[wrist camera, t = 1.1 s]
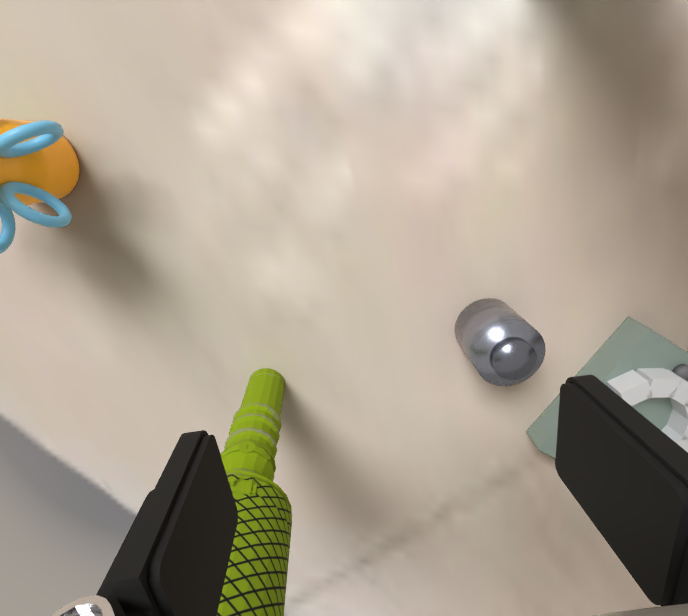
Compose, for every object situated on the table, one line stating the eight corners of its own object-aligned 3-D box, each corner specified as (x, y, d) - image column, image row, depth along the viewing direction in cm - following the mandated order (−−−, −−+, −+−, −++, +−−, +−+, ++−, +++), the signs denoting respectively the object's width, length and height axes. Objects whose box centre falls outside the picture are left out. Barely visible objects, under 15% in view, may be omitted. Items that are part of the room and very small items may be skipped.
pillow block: (628, 316, 40) (667, 338, 36) (708, 367, 43) (754, 394, 38) (526, 431, 45) (548, 464, 41) (603, 470, 48) (633, 505, 43)
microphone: (300, 417, 43) (271, 731, 20) (228, 411, 43) (112, 728, 19) (308, 350, 40) (284, 628, 17) (230, 343, 40) (97, 620, 17)
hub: (479, 287, 39) (510, 316, 32) (527, 316, 40) (566, 348, 34) (442, 337, 41) (465, 374, 34) (490, 362, 42) (520, 402, 35)
